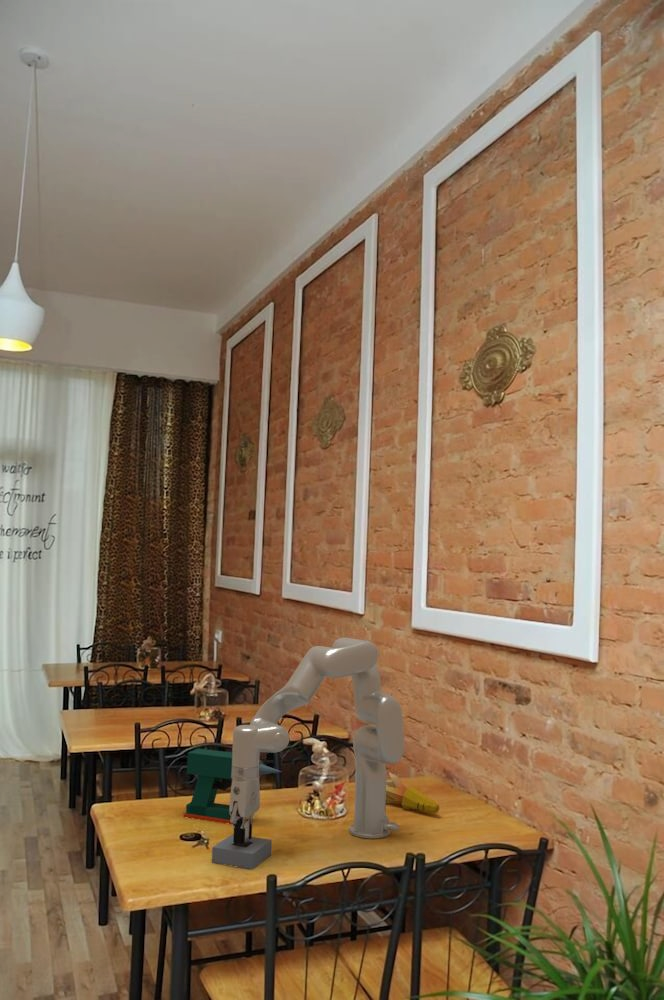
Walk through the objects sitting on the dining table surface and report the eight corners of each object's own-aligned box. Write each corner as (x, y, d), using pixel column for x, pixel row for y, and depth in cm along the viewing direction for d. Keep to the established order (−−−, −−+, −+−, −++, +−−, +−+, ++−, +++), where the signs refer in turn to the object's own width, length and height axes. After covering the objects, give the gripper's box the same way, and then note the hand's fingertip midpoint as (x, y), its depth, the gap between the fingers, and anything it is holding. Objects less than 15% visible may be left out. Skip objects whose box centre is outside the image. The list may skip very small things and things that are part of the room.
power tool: (285, 824, 248) (287, 758, 249) (276, 831, 241) (278, 763, 243) (194, 811, 258) (196, 748, 260) (183, 817, 252) (186, 752, 253)
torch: (434, 830, 258) (377, 802, 276) (448, 814, 263) (392, 787, 281) (429, 810, 255) (372, 783, 273) (444, 794, 260) (387, 769, 278)
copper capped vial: (251, 851, 219) (252, 812, 220) (245, 856, 215) (246, 815, 216) (238, 849, 220) (240, 810, 221) (232, 854, 217) (234, 813, 217)
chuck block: (271, 854, 221) (271, 839, 221) (252, 869, 210) (252, 853, 210) (232, 848, 225) (233, 833, 226) (211, 862, 214) (212, 847, 214)
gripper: (243, 780, 210) (241, 852, 209) (270, 766, 226) (267, 833, 224) (218, 777, 213) (215, 848, 212) (246, 763, 229) (243, 829, 227)
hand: (242, 839), depth 218 cm, fingers closed on copper capped vial, 3 cm apart
